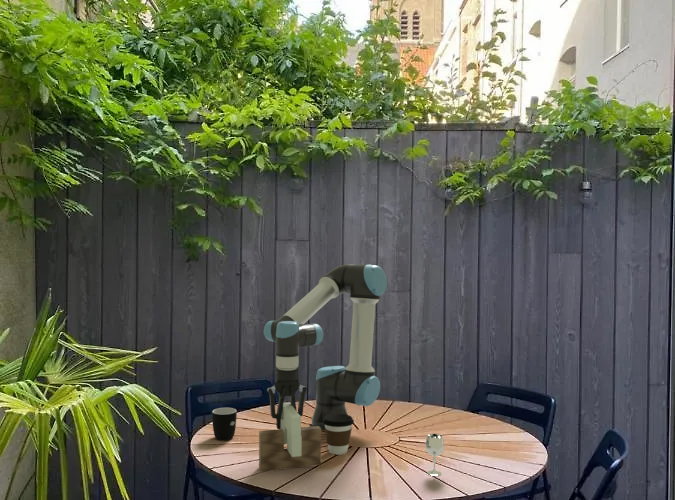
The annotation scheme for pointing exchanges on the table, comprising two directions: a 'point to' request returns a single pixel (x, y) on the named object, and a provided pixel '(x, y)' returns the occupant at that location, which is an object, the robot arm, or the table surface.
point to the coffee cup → (338, 432)
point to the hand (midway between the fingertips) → (286, 437)
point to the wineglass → (434, 449)
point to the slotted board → (280, 458)
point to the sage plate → (292, 429)
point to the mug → (224, 423)
